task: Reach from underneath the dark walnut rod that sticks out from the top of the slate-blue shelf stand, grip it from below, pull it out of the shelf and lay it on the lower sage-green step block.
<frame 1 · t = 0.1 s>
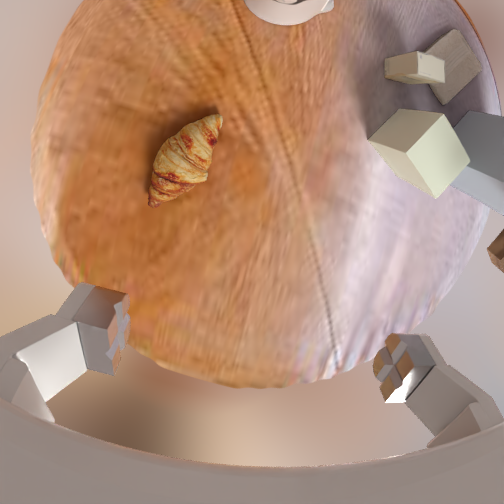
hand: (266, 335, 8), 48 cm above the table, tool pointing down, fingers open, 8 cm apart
croissant: (186, 159, 52), on the table
washcloth: (446, 64, 43), on the table
skincare box: (397, 71, 44), on the table
shelf stand: (461, 147, 51), on the table
step block: (398, 142, 51), on the table
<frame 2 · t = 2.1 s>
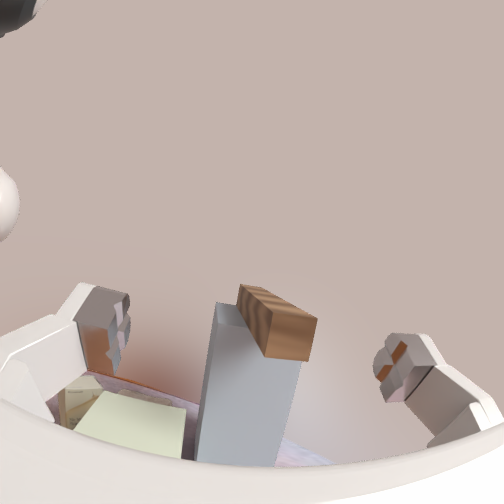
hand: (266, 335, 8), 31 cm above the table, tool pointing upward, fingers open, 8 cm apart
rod: (259, 324, 34), point 26 cm above the table, touching shelf stand
washcloth: (136, 422, 46), on the table
skincare box: (83, 446, 33), on the table
shelf stand: (224, 466, 38), on the table
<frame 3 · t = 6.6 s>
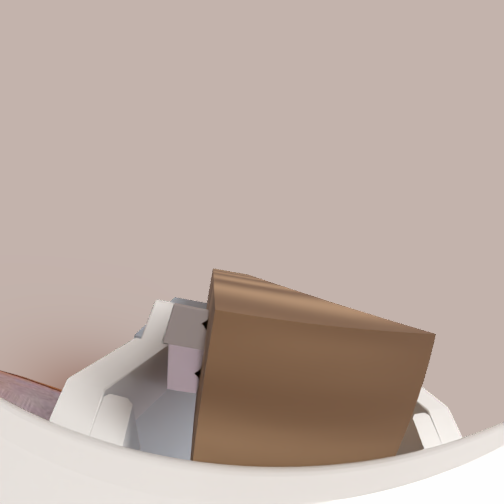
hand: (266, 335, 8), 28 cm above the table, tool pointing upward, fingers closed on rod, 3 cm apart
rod: (233, 338, 16), point 26 cm above the table, touching gripper, shelf stand
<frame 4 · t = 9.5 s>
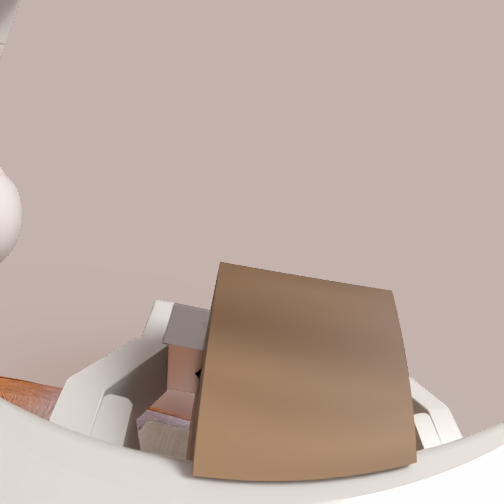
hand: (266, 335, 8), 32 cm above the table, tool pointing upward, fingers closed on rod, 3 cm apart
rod: (219, 465, 13), point 23 cm above the table, tilted 38°, touching gripper, step block
washcloth: (167, 459, 39), on the table
when the fingers open (19 cm above the table, at t = 12.1 s): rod stays where it is, resting on step block.
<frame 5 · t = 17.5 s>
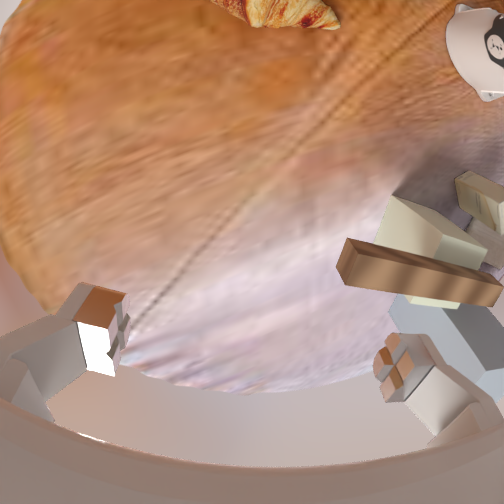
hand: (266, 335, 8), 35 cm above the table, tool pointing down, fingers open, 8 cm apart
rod: (430, 271, 32), point 15 cm above the table, touching step block
croissant: (264, 3, 30), on the table
washcloth: (488, 233, 47), on the table
skincare box: (464, 189, 42), on the table
shelf stand: (427, 295, 53), on the table
step block: (404, 229, 46), on the table
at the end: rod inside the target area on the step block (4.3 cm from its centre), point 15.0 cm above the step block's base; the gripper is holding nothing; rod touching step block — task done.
